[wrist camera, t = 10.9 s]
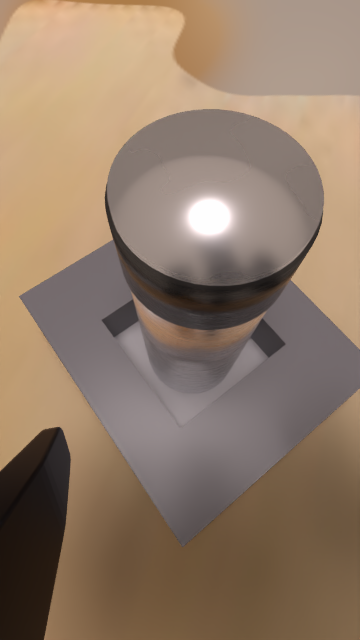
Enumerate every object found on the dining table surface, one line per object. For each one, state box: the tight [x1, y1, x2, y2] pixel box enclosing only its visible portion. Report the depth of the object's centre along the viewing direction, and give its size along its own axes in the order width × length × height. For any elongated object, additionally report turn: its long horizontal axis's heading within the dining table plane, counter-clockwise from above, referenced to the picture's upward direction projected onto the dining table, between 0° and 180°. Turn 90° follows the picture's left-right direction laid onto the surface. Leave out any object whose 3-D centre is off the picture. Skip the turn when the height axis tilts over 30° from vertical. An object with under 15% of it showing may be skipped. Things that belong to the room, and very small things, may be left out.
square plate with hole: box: [19, 240, 360, 547], centre depth 19 cm, size 14×12×4 cm
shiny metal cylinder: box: [105, 109, 324, 393], centre depth 14 cm, size 5×5×13 cm
